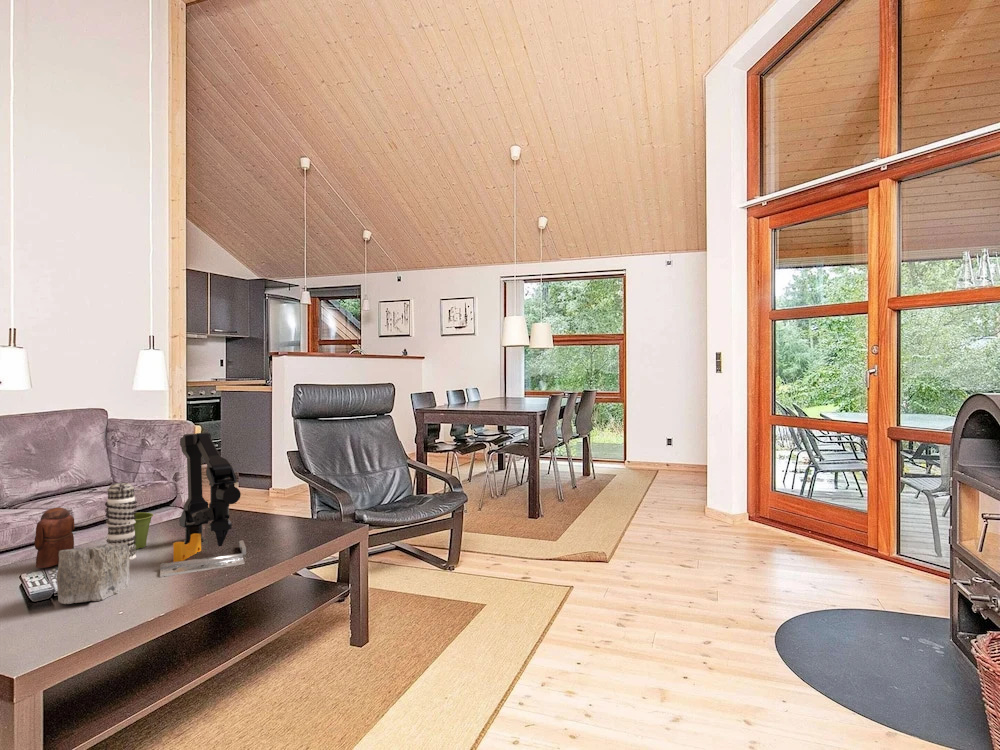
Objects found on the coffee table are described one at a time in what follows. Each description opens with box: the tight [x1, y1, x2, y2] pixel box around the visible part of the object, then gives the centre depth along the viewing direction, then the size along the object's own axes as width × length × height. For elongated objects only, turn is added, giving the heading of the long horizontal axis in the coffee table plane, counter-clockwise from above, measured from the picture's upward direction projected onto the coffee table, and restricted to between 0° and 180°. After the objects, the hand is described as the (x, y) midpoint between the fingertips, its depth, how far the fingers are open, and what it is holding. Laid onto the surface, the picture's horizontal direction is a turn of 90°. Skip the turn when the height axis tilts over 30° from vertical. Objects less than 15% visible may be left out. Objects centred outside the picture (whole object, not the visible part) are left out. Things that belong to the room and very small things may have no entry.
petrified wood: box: [56, 543, 131, 605], centre depth 174 cm, size 19×17×15 cm
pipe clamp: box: [172, 534, 202, 562], centre depth 208 cm, size 12×4×6 cm, turn 176°
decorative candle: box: [104, 482, 138, 561], centre depth 206 cm, size 9×9×25 cm
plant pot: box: [134, 512, 154, 551], centre depth 219 cm, size 12×12×11 cm
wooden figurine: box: [34, 507, 76, 569], centre depth 201 cm, size 12×6×18 cm, turn 176°
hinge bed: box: [159, 539, 247, 578], centre depth 202 cm, size 20×25×3 cm
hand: (219, 545), depth 209 cm, fingers closed
